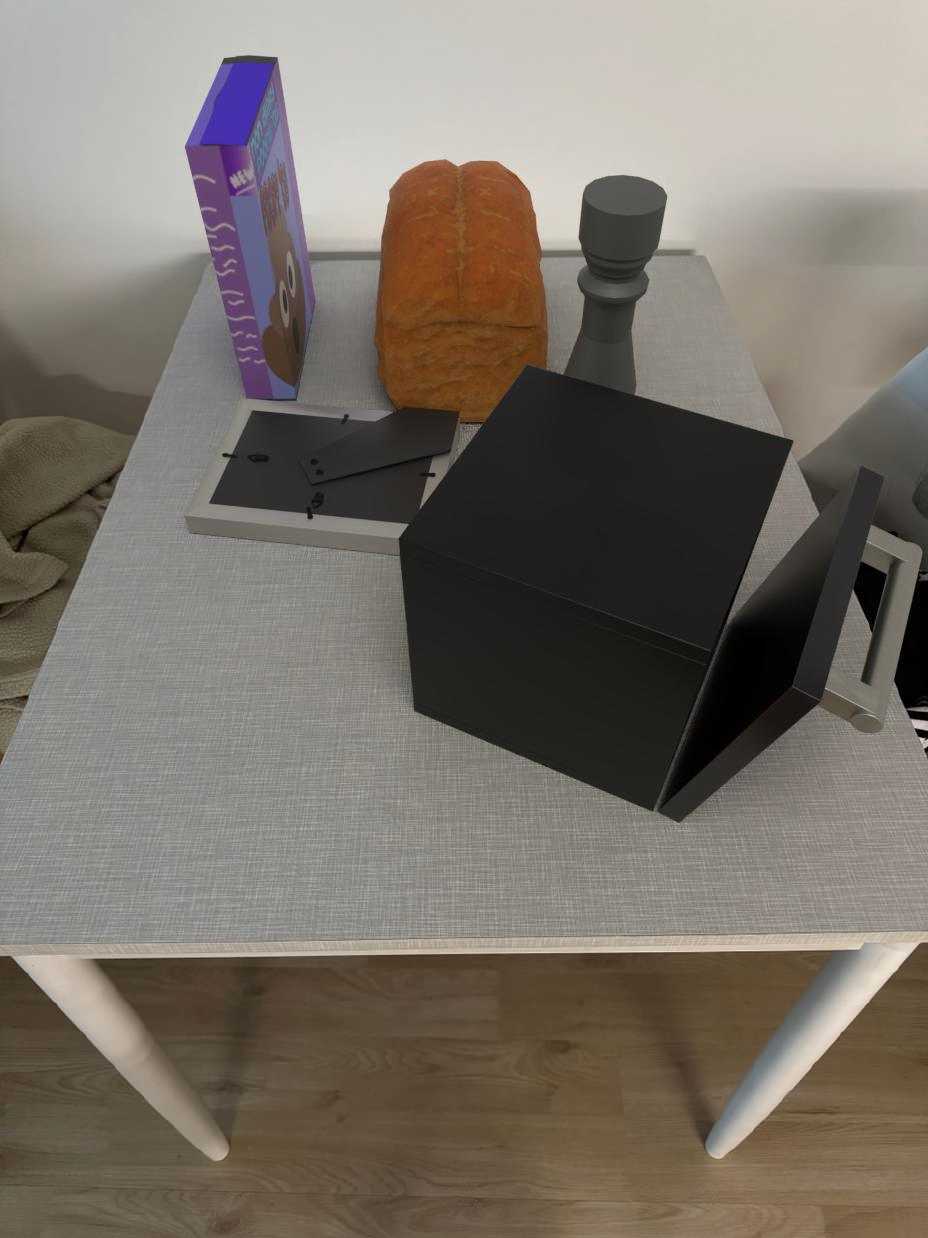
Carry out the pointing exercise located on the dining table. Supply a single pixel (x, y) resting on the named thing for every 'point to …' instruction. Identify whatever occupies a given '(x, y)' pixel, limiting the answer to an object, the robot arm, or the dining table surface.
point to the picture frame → (323, 474)
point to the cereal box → (254, 223)
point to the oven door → (799, 647)
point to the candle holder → (614, 275)
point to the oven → (583, 575)
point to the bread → (459, 288)
